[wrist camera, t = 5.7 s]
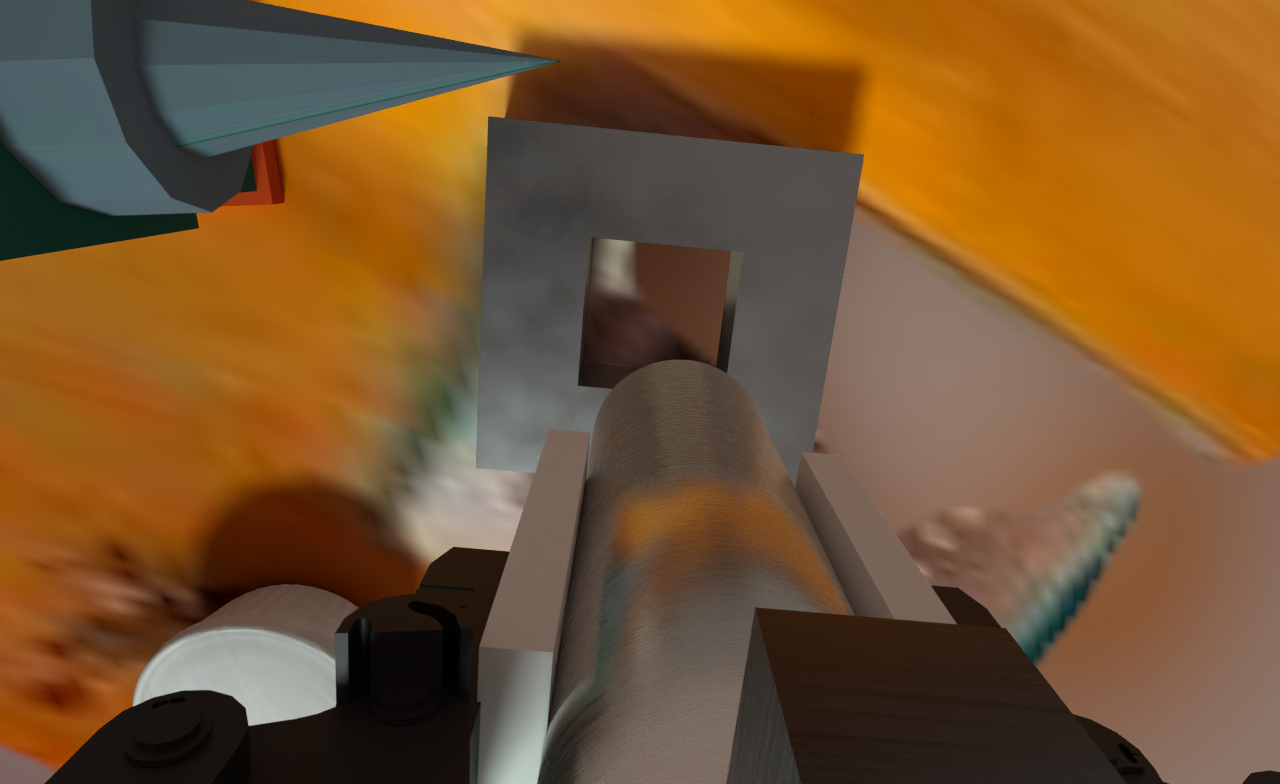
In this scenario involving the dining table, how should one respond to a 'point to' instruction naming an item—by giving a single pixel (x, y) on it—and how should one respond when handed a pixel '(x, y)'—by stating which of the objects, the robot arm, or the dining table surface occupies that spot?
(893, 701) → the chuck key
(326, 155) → the dining table surface
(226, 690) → the ramekin
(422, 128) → the dining table surface
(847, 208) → the plate
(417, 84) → the power tool
